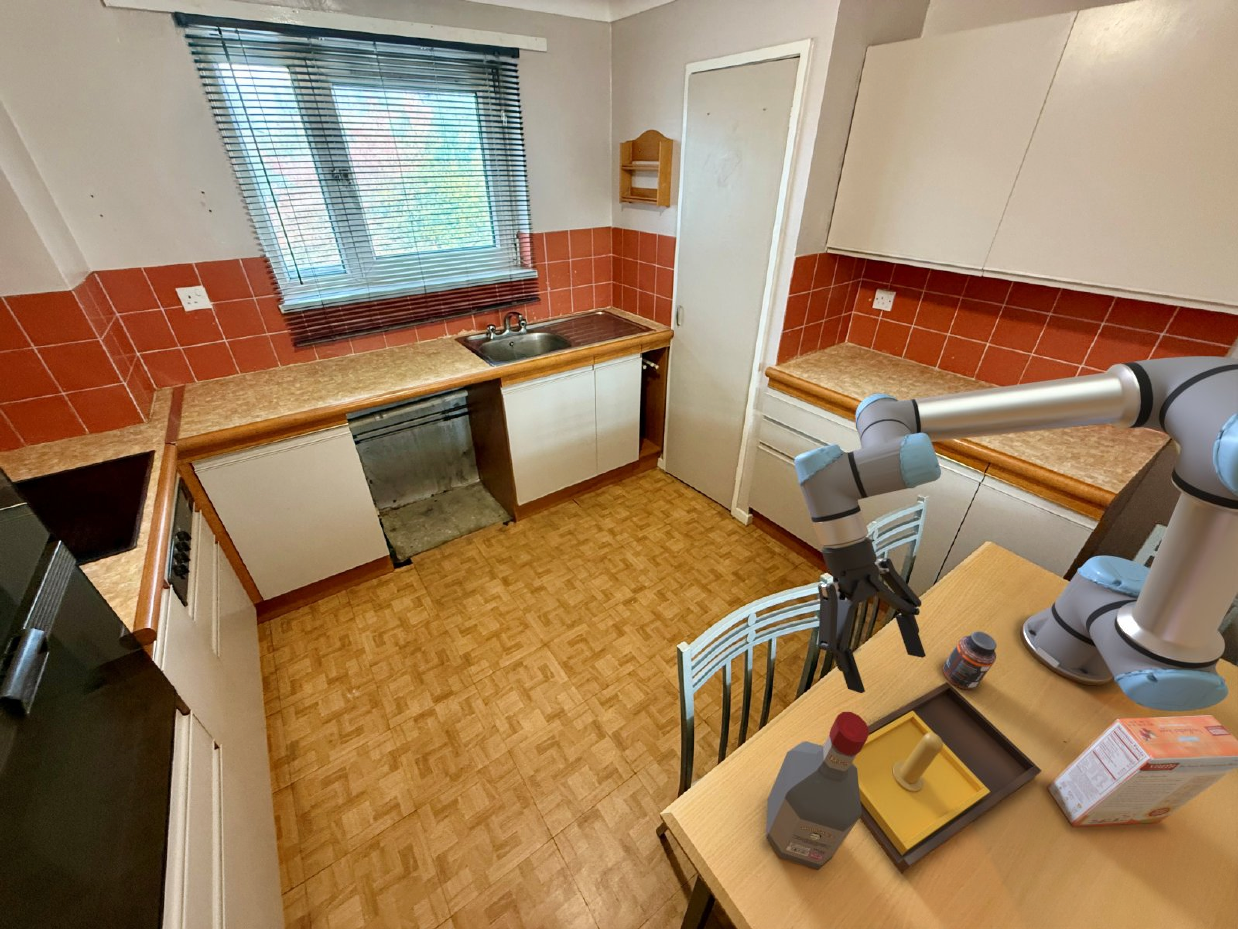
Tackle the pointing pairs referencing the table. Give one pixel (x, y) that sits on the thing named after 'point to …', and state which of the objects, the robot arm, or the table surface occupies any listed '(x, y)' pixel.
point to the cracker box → (1144, 770)
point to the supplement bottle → (970, 660)
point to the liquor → (817, 795)
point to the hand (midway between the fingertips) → (887, 672)
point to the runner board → (976, 750)
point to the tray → (906, 806)
